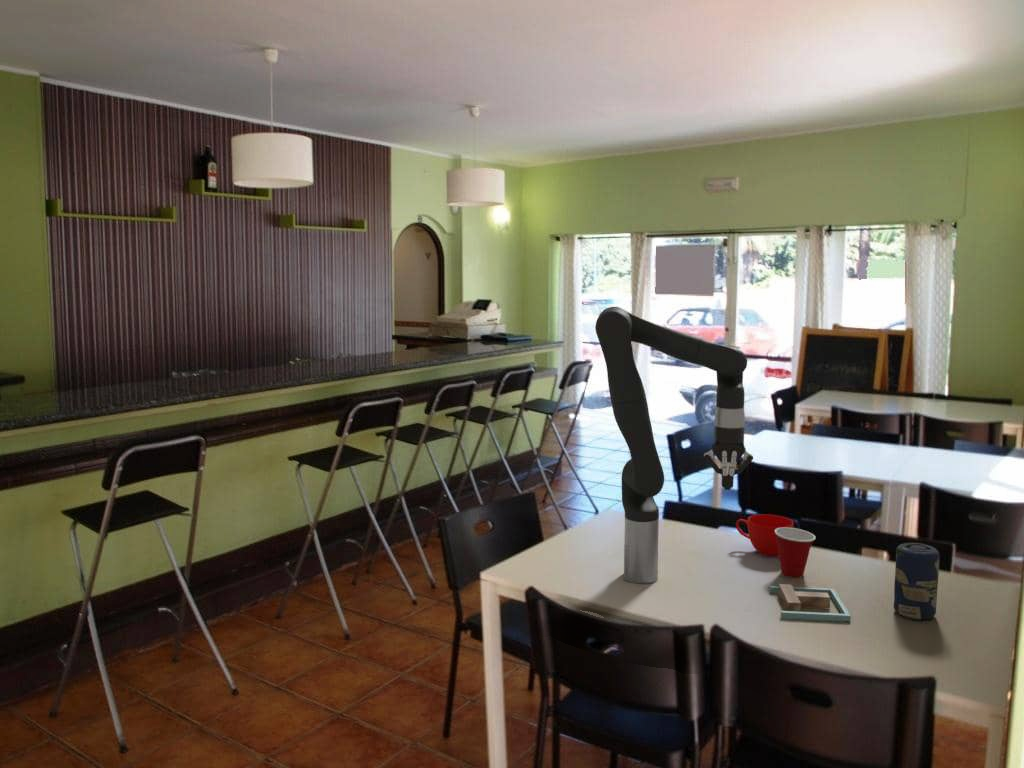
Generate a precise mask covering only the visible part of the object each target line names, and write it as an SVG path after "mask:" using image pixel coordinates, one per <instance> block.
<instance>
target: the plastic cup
mask: <svg viewBox="0 0 1024 768" xmlns="http://www.w3.org/2000/svg"><path fill="white" fill-rule="evenodd" d="M775 534H776V538H777V543H778V552H779V556H778V557H779V559H778V560H779V564H780V571H781V574H782V575H783V576H785V577H788V578H792V579H793V578H797V579H798V578H801V577H803V576H804V574H805V570H806V565H807V562H808V558H809V554H810V550H811V547H812V545H813V543H814V541H815V540H816V535H814V533H811V532H809V531H808V530H803V529H801V528H796V527H793V528H787V527H783V528H777V529H775Z"/></svg>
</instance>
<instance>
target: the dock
mask: <svg viewBox="0 0 1024 768" xmlns="http://www.w3.org/2000/svg"><path fill="white" fill-rule="evenodd" d="M792 587H793V589H794V591H799V592H821V593H828V594H829V595H830V598H831V597H832V598H831V599H832V601H833V603H834V602H835V603H834V605H835V606H836V605H837V606H836V608H837V607H838V608H837V609H838V611H839V610H840V611H839V612H840V613H833V612H815V611H813V612H811V611H800V612H796V611H786V610H780V618H781V619H785V620H786V619H787V620H788V619H791V620H807V621H809V620H810V621H825V622H826V621H827V620H828V621H830V622H845V621H850V622H851V616H852V615H851V614H850V613H849V611H848V609H847V607H846V606H845V605H844V603H843V602H842V600H841V598H840V597H839V595H838V593H837V592H836V590H835V589H834V588H826V587H825V588H824V587H803V586H792ZM770 592H771V594H779V585H778V586H777V585H770V586H769V593H770ZM841 613H842V614H841Z"/></svg>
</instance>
